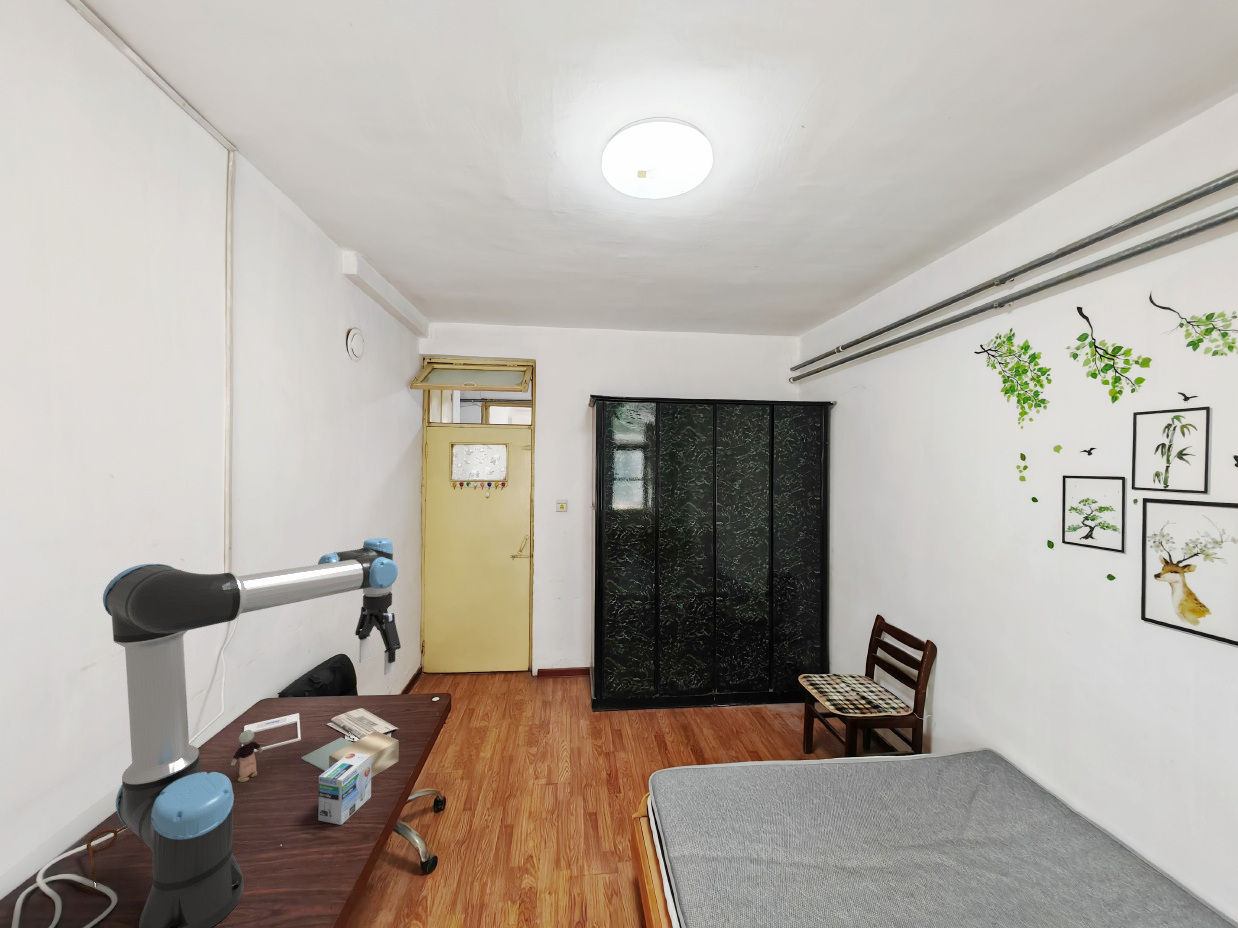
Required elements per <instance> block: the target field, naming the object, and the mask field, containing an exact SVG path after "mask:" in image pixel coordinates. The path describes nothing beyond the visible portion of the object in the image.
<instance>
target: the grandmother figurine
mask: <svg viewBox="0 0 1238 928" xmlns="http://www.w3.org/2000/svg"><path fill="white" fill-rule="evenodd" d="M254 738H255V732H254V733H253V732H252V731H251V730H246V731H244V730H243V732H241V733H240V734H239V737H238V741H239V743H241V746H240V747H239V748H238V749H237V750H236V752H235V753H234V755H233V757H232V760H231V762H230V766H231V767H234V766H235V765H236V763H237V761H238V760H239V770H238V771H239V773H238V775H239V777H237V781H238V782H240V783H241V782H242V783H244V782H247V781H248V780H250V778H251V777H252V778H253V777H256V776H257V775H258V771H257V761H256V756H255V752H254V749H257V752H258V753H259V754H261V753H262V752H263V751H264V750H263V749H261V748H262V746H261V744H259V743H258V741H253V739H254ZM242 744H243V746H242Z"/></svg>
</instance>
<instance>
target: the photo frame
mask: <svg viewBox="0 0 1238 928" xmlns="http://www.w3.org/2000/svg"><path fill="white" fill-rule="evenodd" d="M295 723H296V724H297V725H296V727H297V737H296V738H294V739H293V738H292V739H290V740H286V741H282V742H277V743H275V744H274V743H273V744H270V745H267V746H263V747H262V746H261V749H263V751H264V750H265V751H266V750H269V749H272V748H276V747H280V746H283V745H287V744H292V743H295V742H300V741H301V739H302V738H301V724H300V713H299V712H297V713H293V714H290V715H284V716H280V717H276V718H272V719H268V720H263V721H258V722H255V723H250V724H246V725H244V726H243V732H244V731H246V730H251V731H252V732H253V733H254V734H255V733H258V732H262V731H266V730H270V729H271V730H272V729H275V728H279V727H282V726H287V725H291V724H295ZM242 746H243V744H241V747H242ZM257 752H258V751H257V749H254V753H257Z"/></svg>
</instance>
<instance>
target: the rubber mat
mask: <svg viewBox="0 0 1238 928" xmlns="http://www.w3.org/2000/svg"><path fill="white" fill-rule="evenodd" d="M352 743H354V742H353V741H350V740H348V739H346V738H343V737H341V736H340V737H339V738H337V739H335V740H333V741H331V742H329V743H327V744H325V745H322V746H321V747H319V748H318V749H315V750H313V751H311V752H309V753H306V754H305V755H304V756H301V757H300V759H301V760H303V761H304V762H306V763H308V764H311V766H314V767H316V768H318V769H319V770H322V771H324V772H325V771H327V770H328V769H329V755H331V754H333V753H335V752H337V751H338V750H340V749H342V748H344V747H346V746H348V745H350V744H352Z"/></svg>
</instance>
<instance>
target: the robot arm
mask: <svg viewBox="0 0 1238 928" xmlns="http://www.w3.org/2000/svg"><path fill="white" fill-rule="evenodd" d="M393 548H394V547H393V541H392V540H391V539H389V538H387V537H376V538H375V537H374V538H368V539H365V540H364V542H363V546H362V548H358V549H357V548H356V549H351V550H344V551H337V552H336V551H334V552H332V553H328V554H323V555H322V556H321V557H320V558H319V560H318V562H317V564H312V565H306V566H299V567H293V568H286V569H279V570H272V571H266V572H259V573H258V572H257V573H253V574H252V573H251V574H244V575H236V574H235V573H233V572H223V573H222V572H221V573H211V574H209V573H206V574H205V573H196V572H195V573H194V572H190V571H184V570H182V569H178V568H175V567H173V566H171V565H168V564H164V563H143V564H142V563H141V564H138V565H134V566H131V567H129V568H127V569H125V570H123V571H121V572H119V573H117V575H115V576H114V578H113V579H110V581H109V583H107V585H106V587H105V589H104V591H103V595H102V603H103V607H104V609H105V611H106V613H107V614H108V615H109V616H110V617H111V625H112V636H113V637H112V638H113V639H112V640H113V643H115V644H116V645H119V646H121V647H124V653H125V654H124V655H125V666H126V667H125V669H126V684H127V700H128V701H127V702H128V704H127V705H128V717H129V719H128V720H129V734H130V748H131V749H130V750H131V764H130V765H129V766H127V768H126V769H125V770H124V772H123V773H122V776H121V781H122V782H121V783H122V784H121V785H120V787H119V789H118V791H117V794H116V798H115V809H116V813H117V816H118V818H119V821H120V822H121V823H122V824H123V825H124V826H127V827H129V828H128V829H130V830H131V831H132V832H133V833H134V834H135V835H136V836H137V837H138V838H139V839H140V840H142V842H143V843H144V844H146V846H147V847H149V849H150V850H151V853H152V854H151V855H152V886H151V887H150V888H151V889H150V891H149V894H148V897H147V899H146V901H145V904H144V906H143V909H142V911H141V913H140V914H141V915H140V918H139V923H138V924H139V927H138V928H213V927H215V926H216V925H218V924H219V923H220V922H221V921H223V919H225V918H226V917H227V916H229V914H230V913H231V912H232V911H233V910H234V909H235V908H236V906H237V905H238V904H239V902H240V900H241V898H242V896H243V893H244V874H243V872H242V869H241V868H240V866H239V864H238V862H237V860H236V858H235V856H234V854H233V839H234V838H233V824H234V801H235V800H234V798H235V795H234V790H233V785H232V784H233V783H232V782H231V780H230V778H229V777H228V776H227V775H225V774H224V773H220V772H217V771H210V772H209V773H208V772H207V771H201V765H200V763H201V762H200V751H199V748H198V747H196V746H194V745H191V744H190V737H189V720H188V719H189V717H188V702H187V686H186V685H187V684H186V683H187V681H186V666H185V665H186V664H185V648H184V647H185V645H184V635H185V634H186V633H187V632H188V631H191V630H197V629H201V628H205V627H209V626H215V625H217V624H218V625H219V624H223V623H228V622H233V621H235V620H236V619H238V617H239V616H240V615H241V614H245V613H251V612H254V611H261V610H265V609H270V608H275V607H281V606H284V605H285V606H286V605H291V604H294V603H299V602H303V601H308V600H313V599H318V598H319V599H320V598H323V597H328V596H333V595H338V594H343V593H344V594H345V593H348V592H352V591H359V590H362V594H364V595H363V596H362V606H361V607H360V616H359V618H358V622H357V625H356V629H355V631H354V632H355V633H354V634H355V636H356V637H357V636H358V640H359V658H358V659H359V663H360V664H361V663H364V662H367V661H371V638H370V637H371V632H372V631H373V628H374V627H375V629H376V631H379V634H380V637H381V639H382V642H383V645H384V647H385V650H384V652H383V653H384V654H383V655H384V657H383V658H384V659H383V660H384V664H383V665H384V668H383V671H384V674H383V675H384V676H388V675H390V674H393V673H396V650H399V649H401V648H402V647H401V642H400V638H399V633H398V629H397V624H396V618H395V616H396V615H395V613H389V612H388V609H389V608H390V607H391V606H392V604H393V593H392V591H393V584H394V583H395V582H396V580H397V577H398V574H399V573H398V572H399V571H398V566H397V563H396V562H395V561H394V557H393V556H394V551H393Z"/></svg>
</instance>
